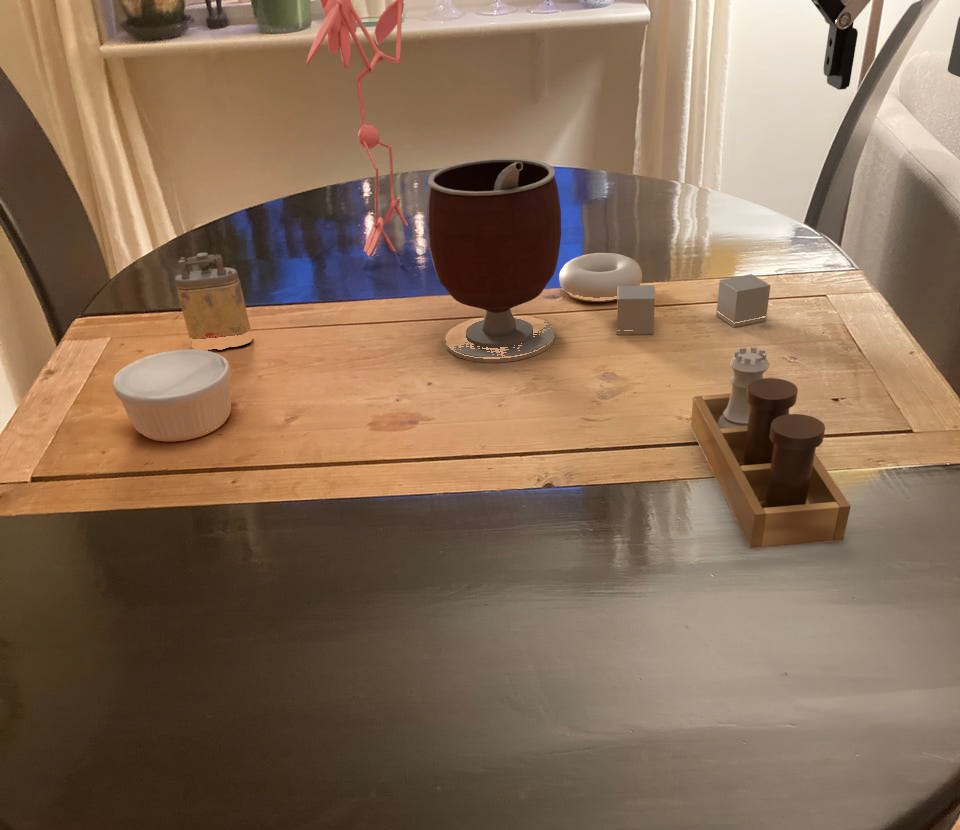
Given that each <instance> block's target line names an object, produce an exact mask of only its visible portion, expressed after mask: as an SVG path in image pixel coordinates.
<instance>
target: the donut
mask: <svg viewBox="0 0 960 830" xmlns="http://www.w3.org/2000/svg"><path fill="white" fill-rule="evenodd" d="M558 279H559V286H560V288H561V287H562V288H563V289H564V290H565V291H567V292H570V293H572V294H573V295H579V296H583V297H593V298H600V297H614V296H618V286H640V285H641V283H642V281H643V272H642V268H641V266H640V264H639V263H638V262H637V261H635V260H634V259H633V258H632V257H629V256H626V255H624V254H621V253H620V254H619V253H613V252H594V253H588V254H583V255H579V256H577V257H576V256H575V258H572V259H571V260H569V261H567V262H566V263H565V264H564V265H563V267H562V268H561V269H560V272H559V276H558ZM562 288H561V289H562ZM570 298H573V299H575V300H577V301H578V300H579V301H583V302H589V303H606V302H607V303H608V302H614V301H617V299H613V300H605V301H591V300H582V299H577V298H574V297H572V296H570Z"/></svg>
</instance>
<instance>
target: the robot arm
mask: <svg viewBox="0 0 960 830" xmlns="http://www.w3.org/2000/svg"><path fill="white" fill-rule="evenodd" d="M871 1H872V0H811V2H812V3H813V5H814V6H815V7H816V9H817V10H818V12H819V13H820V14H821V16H822V17H823V18H824V21H825V23H826V24H827V25H829V27H828V33H827V39H826V46H825V47H826V48H825V54H824V61H823V74H824V76H826V83H827V85H829V86H831V87H833V88H835V89H837V90H839V91H840V90H846V89H847V88H849V87H850V84H851V78H852V71H853V65H854V61H855V54H856V47H857V41H858V36H859V35H858V34H859V32H858V29H857V28H855V27H854V22H855V20H856V19H857V18H858V17H859V15H860V14H861V13H862V12H863V10H864V9H866V7H867V6H868V4H869V3H870V2H871ZM947 72H948V73H949V74H951V75H953V76H956V77H958V78H960V16H958V20H957V24H956V29H955V32H954V37H953V42H952V47H951V51H950V56H949V61H948V66H947Z"/></svg>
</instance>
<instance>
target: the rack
mask: <svg viewBox="0 0 960 830" xmlns="http://www.w3.org/2000/svg"><path fill="white" fill-rule="evenodd" d="M730 395H731V392H728V393H717V394H705V395H694V396H692V397H693V398H692V407H691V419H690V429H691V431H692V433H693V436H694V438H695V439H696V441H697V444H698V445H699V446H698V447H699V448H700V450H701V451H702V454H703V455H704V457H705V460H706V461H707V464H708V466H709V468H710V471H711V472H712V474H713V476H714V478H715V480H716V482H717V484H718V487H719V488H720V490H721V492H722V494H723V496H724V498H725V500H726V503H727V505H728V507H729V508H730V510H731V512H732V514H733V516H734V519H735V521H736V523H737V525H738V527H739V529H740V531H741V533H742V535H743V537H744V539H745V541H746V543H747V545H748V548H749V549H758V548H761V549H762V548H774V547H782V546H783V547H785V546H793V545H794V546H795V545H806V544H818V543H831V542H840V541H841V542H843V541H844V538H845V534H846V529H847V525H848V520H849V516H850V512H851V504H850V503H849V501H848V500H847V498H846V496H845V495H844V494H843V493H842V491H841V489H840V488H839V487H838V485H837V483H836V482H835V481H834V479H833V478H832V476H831V475H830V473H829V472H828V471H827V469H826V467H825V466H824V465H823V462H822V461H821V460H820V459H819V457H818V455H817V454H816V453H815V455H814V461H813V466H812V472H811V477H810V483H809V488H808V494H807V500H806V504H804V505H792V506H781V507H769V508H762V506H761V504H762V503H763V502H765V499H766V493H767V486H768V479H769V472H770V466H771V463H767V464H756V465H744V466H739V465H740V464H742V463H743V459H744V452H745V444H746V436H747V428H748V426H745V427H734V428H722V429H719V427H718V425H717V422H718V420H719V418H720V416H721V415H723V412H724V410H725V409H726V408H727V406H728V403H729V399H730Z"/></svg>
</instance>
